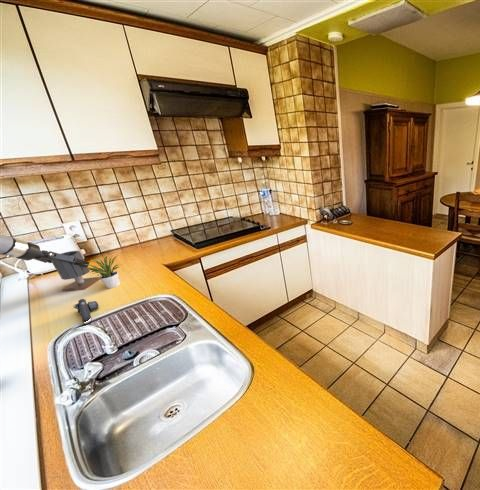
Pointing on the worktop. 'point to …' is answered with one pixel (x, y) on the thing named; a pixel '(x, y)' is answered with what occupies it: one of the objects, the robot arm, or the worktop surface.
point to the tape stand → (80, 283)
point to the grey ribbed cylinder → (70, 267)
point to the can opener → (85, 308)
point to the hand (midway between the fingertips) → (78, 264)
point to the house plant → (106, 272)
